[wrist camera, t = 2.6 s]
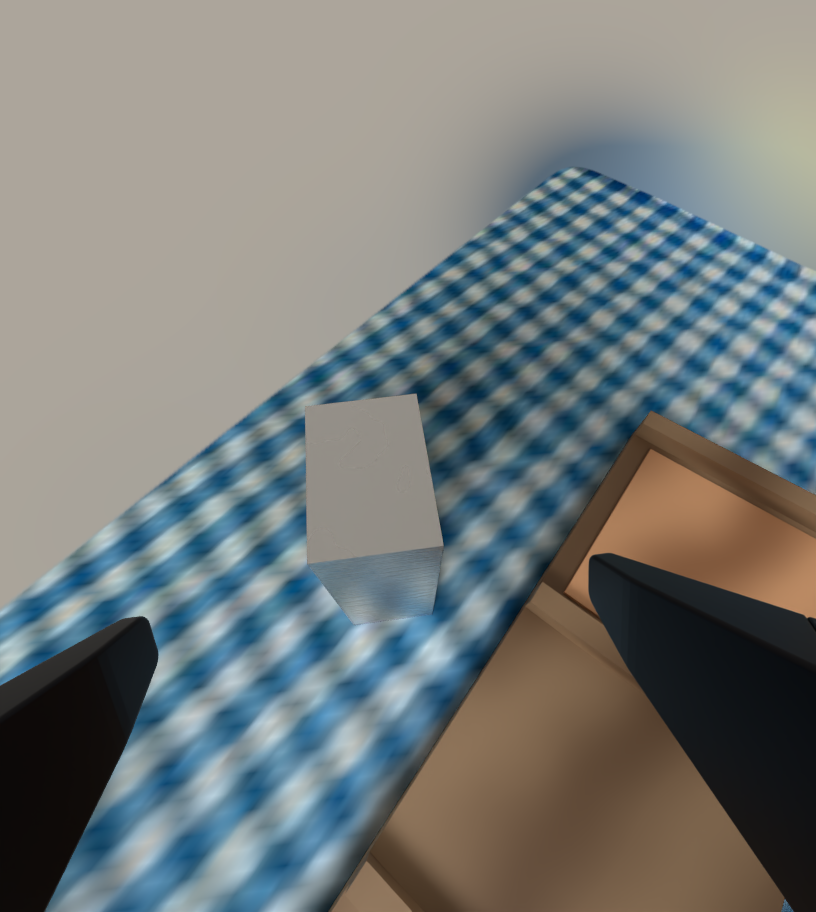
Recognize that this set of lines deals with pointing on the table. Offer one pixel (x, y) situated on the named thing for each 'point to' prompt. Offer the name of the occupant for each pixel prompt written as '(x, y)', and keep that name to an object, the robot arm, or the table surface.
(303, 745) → the table surface
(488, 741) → the rack
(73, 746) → the robot arm
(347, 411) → the brushed grey box
